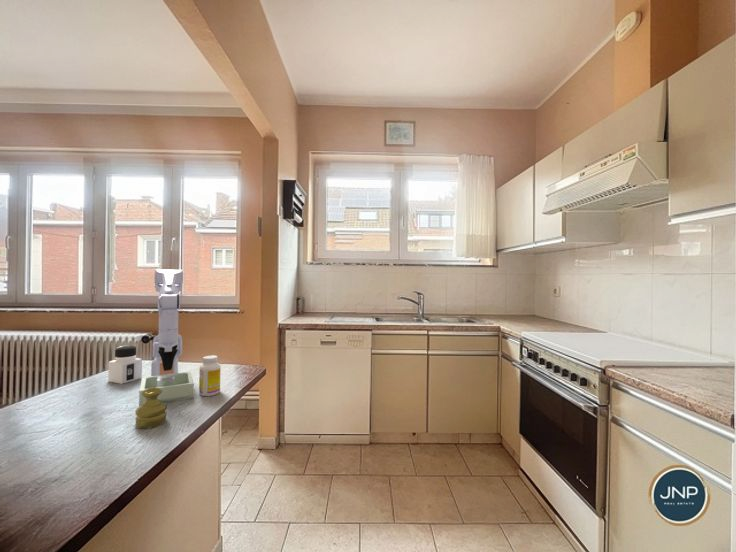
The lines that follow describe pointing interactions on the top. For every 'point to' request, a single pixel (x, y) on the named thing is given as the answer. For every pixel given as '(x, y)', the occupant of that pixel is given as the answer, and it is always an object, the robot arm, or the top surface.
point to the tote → (170, 388)
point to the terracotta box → (165, 371)
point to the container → (125, 365)
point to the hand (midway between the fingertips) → (167, 368)
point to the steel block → (165, 380)
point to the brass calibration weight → (151, 410)
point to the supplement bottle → (209, 376)
